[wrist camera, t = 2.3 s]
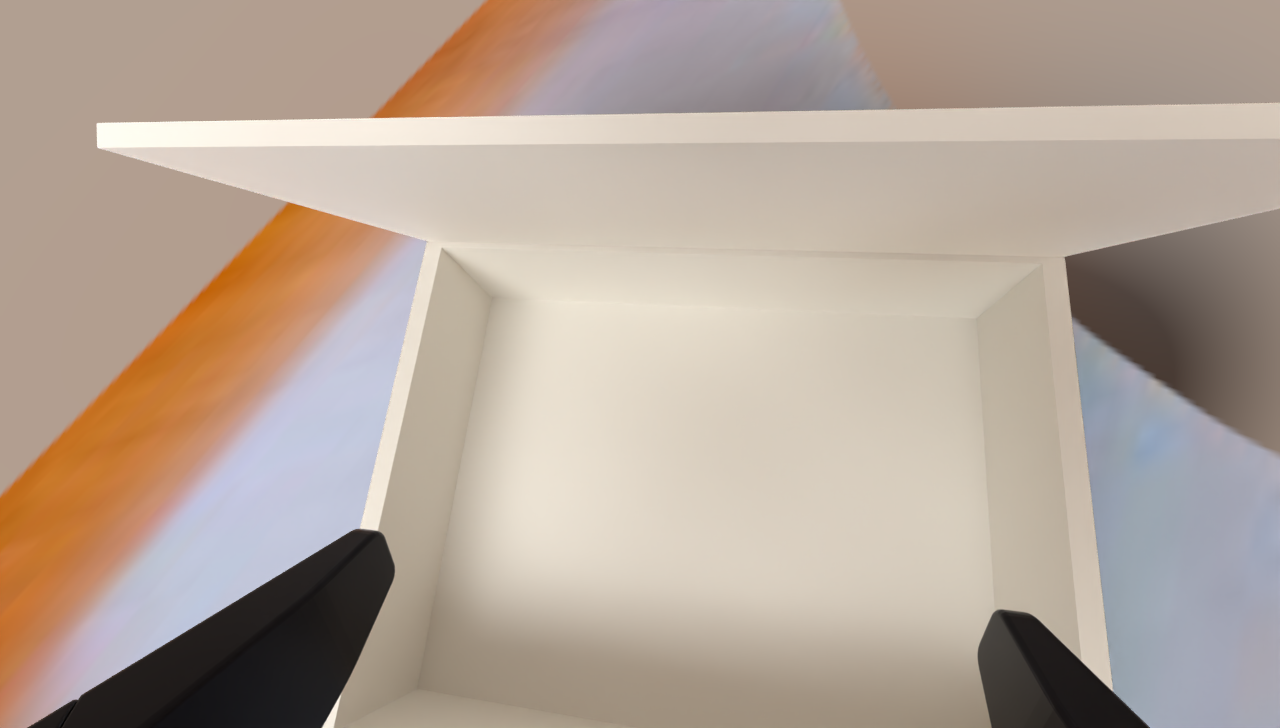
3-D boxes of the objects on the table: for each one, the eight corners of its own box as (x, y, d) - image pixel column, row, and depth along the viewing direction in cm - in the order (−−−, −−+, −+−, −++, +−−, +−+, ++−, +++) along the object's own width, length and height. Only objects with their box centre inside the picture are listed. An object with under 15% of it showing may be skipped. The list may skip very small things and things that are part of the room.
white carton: (1019, 810, 16) (1138, 924, 12) (407, 700, 20) (307, 753, 15) (986, 310, 21) (1063, 245, 16) (487, 289, 24) (429, 231, 19)
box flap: (1062, 257, 16) (1604, 135, 6) (428, 241, 19) (97, 148, 9) (1063, 242, 16) (1610, 97, 6) (428, 229, 19) (96, 123, 9)
